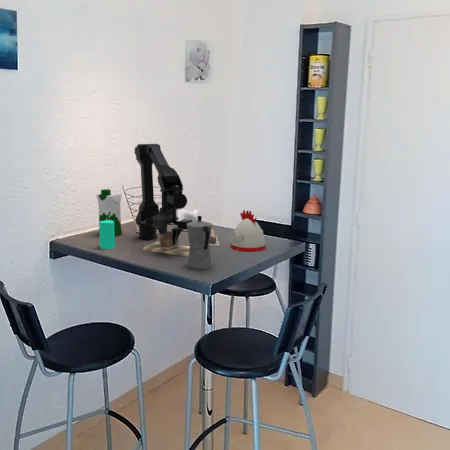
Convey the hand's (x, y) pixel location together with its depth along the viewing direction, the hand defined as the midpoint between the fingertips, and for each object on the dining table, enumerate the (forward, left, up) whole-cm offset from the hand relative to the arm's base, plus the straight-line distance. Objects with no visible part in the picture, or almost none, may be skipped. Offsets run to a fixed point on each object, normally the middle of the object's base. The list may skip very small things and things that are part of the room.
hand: (169, 244), depth 217 cm
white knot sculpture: (-12, +36, -3) cm, 38 cm away
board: (+1, 0, -2) cm, 3 cm away
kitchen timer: (+25, +19, -3) cm, 32 cm away
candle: (-24, -8, -3) cm, 25 cm away
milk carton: (-36, +10, -3) cm, 37 cm away
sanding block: (0, 0, -1) cm, 1 cm away
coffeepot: (+21, -14, -3) cm, 25 cm away
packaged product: (+6, +20, -3) cm, 21 cm away
